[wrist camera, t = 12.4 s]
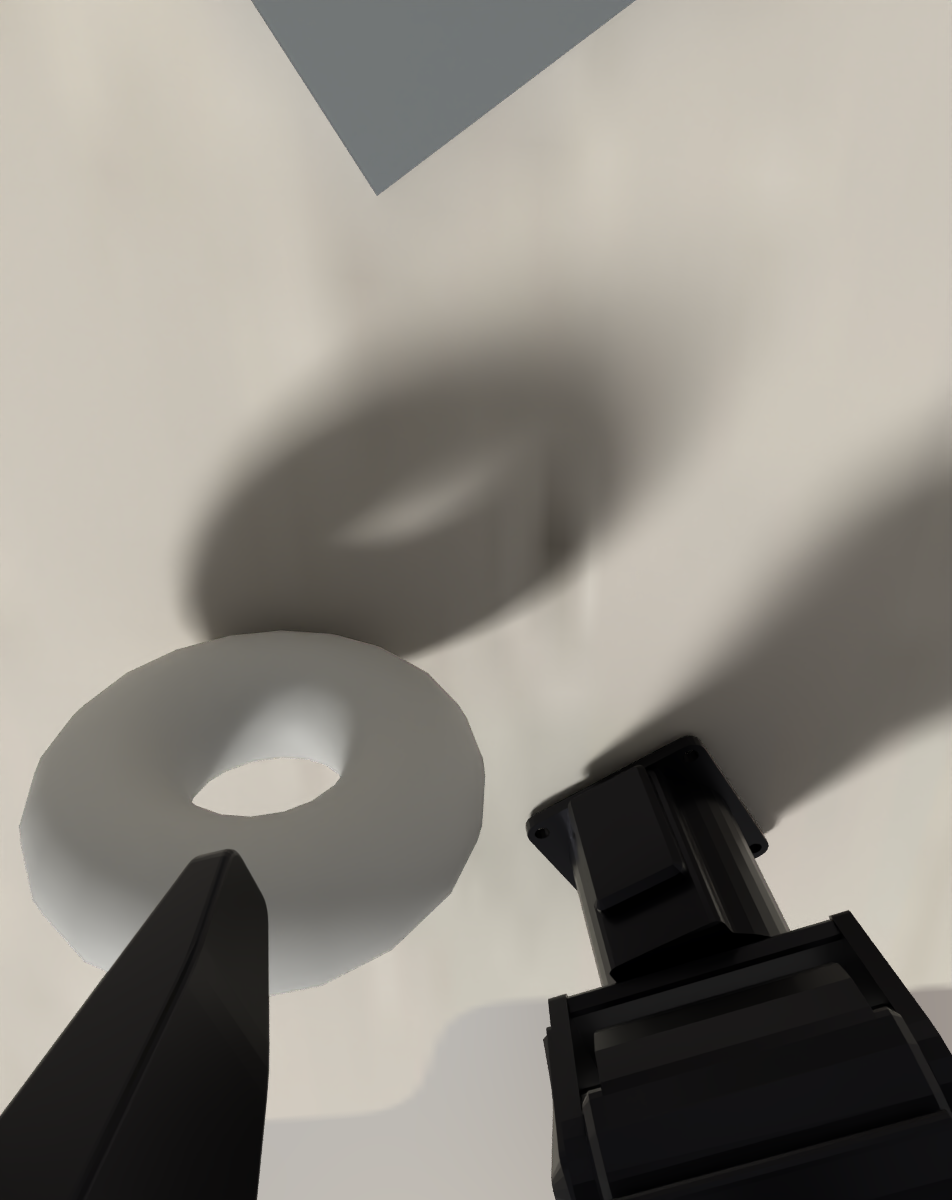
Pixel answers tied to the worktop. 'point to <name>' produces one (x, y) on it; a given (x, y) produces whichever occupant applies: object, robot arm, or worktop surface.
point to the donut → (266, 842)
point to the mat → (421, 65)
